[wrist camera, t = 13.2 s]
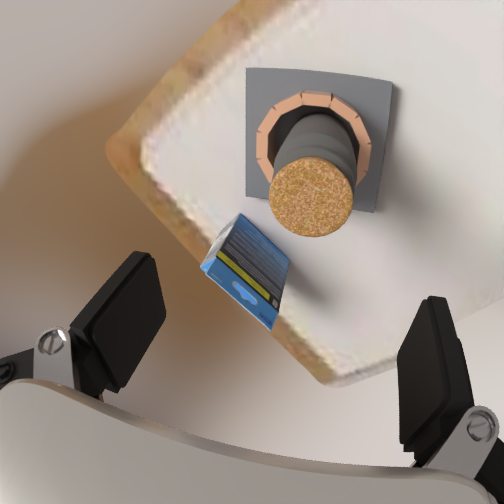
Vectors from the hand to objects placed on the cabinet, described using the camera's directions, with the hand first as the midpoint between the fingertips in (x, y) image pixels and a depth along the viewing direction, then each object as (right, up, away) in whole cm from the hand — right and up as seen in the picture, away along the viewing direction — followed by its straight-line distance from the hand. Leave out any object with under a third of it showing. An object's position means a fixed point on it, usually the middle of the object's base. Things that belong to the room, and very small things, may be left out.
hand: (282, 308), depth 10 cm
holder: (+5, +14, +20) cm, 25 cm away
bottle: (+6, +13, +19) cm, 24 cm away
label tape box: (0, +3, +29) cm, 29 cm away
